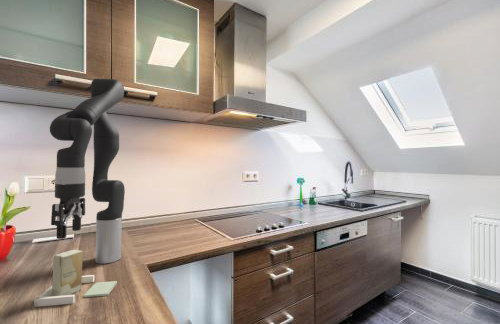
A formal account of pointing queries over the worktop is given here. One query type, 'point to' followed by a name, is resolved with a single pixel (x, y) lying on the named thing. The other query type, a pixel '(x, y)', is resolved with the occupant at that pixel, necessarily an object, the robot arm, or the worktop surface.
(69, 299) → the white frame
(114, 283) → the pad
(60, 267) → the skincare box
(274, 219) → the worktop surface
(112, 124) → the robot arm
